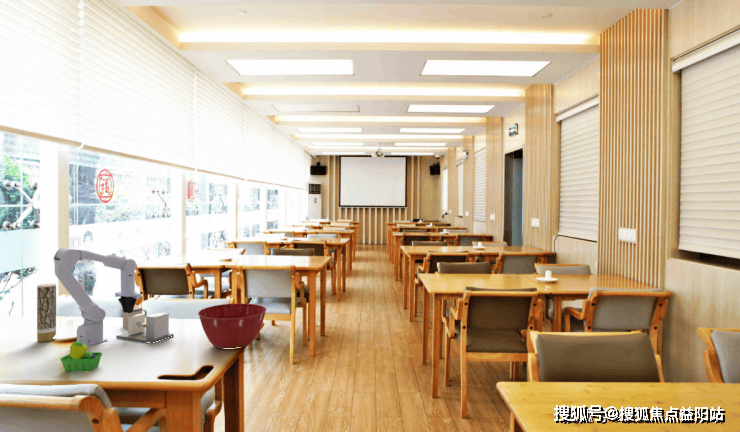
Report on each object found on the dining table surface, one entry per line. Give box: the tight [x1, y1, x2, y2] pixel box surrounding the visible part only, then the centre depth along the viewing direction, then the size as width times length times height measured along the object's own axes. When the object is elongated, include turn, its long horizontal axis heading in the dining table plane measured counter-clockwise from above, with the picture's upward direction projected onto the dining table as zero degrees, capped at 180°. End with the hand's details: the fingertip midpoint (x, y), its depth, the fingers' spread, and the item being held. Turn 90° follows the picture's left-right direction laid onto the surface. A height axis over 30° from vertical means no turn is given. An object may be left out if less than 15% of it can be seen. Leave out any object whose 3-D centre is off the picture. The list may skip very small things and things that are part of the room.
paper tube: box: [36, 283, 57, 343], centre depth 193 cm, size 7×7×25 cm
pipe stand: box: [136, 312, 170, 340], centre depth 198 cm, size 8×19×10 cm, turn 69°
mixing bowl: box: [197, 302, 267, 349], centre depth 187 cm, size 28×28×16 cm
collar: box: [127, 313, 146, 335], centre depth 200 cm, size 7×2×8 cm, turn 159°
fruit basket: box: [60, 340, 103, 373], centre depth 157 cm, size 11×9×11 cm
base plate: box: [116, 329, 174, 344], centre depth 198 cm, size 12×22×1 cm, turn 69°
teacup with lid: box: [122, 304, 148, 329], centre depth 219 cm, size 12×9×12 cm
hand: (128, 312), depth 202 cm, fingers closed
